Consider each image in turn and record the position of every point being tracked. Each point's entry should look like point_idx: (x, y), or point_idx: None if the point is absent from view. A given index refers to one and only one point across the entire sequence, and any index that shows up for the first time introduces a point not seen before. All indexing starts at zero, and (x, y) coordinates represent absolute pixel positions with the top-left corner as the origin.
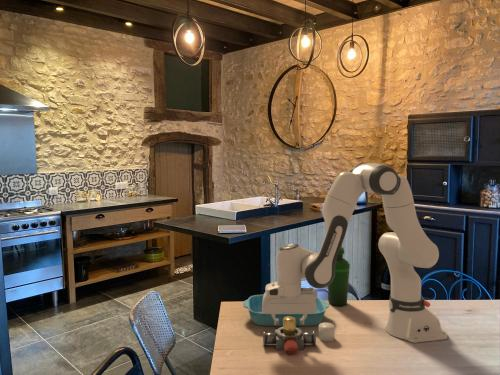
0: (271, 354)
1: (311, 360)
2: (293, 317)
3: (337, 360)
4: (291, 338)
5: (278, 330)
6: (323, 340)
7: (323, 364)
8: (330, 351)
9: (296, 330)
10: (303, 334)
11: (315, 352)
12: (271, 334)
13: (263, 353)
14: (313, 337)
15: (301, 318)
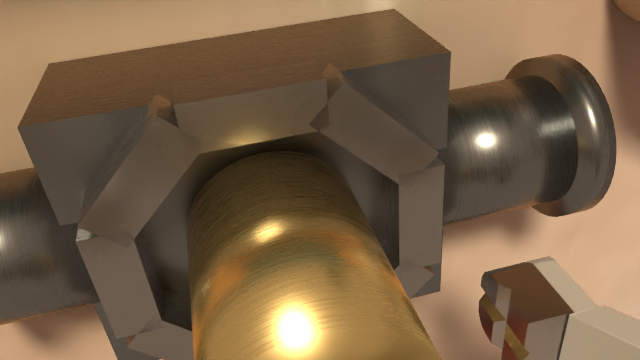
0: (98, 346)
1: (432, 336)
2: (418, 352)
3: (606, 293)
4: None
5: (110, 264)
6: (634, 18)
7: (500, 355)
8: (611, 193)
9: (383, 166)
10: (457, 216)
11: (488, 233)
12: (20, 311)
13: (11, 351)
14: (551, 211)
15: (560, 319)
